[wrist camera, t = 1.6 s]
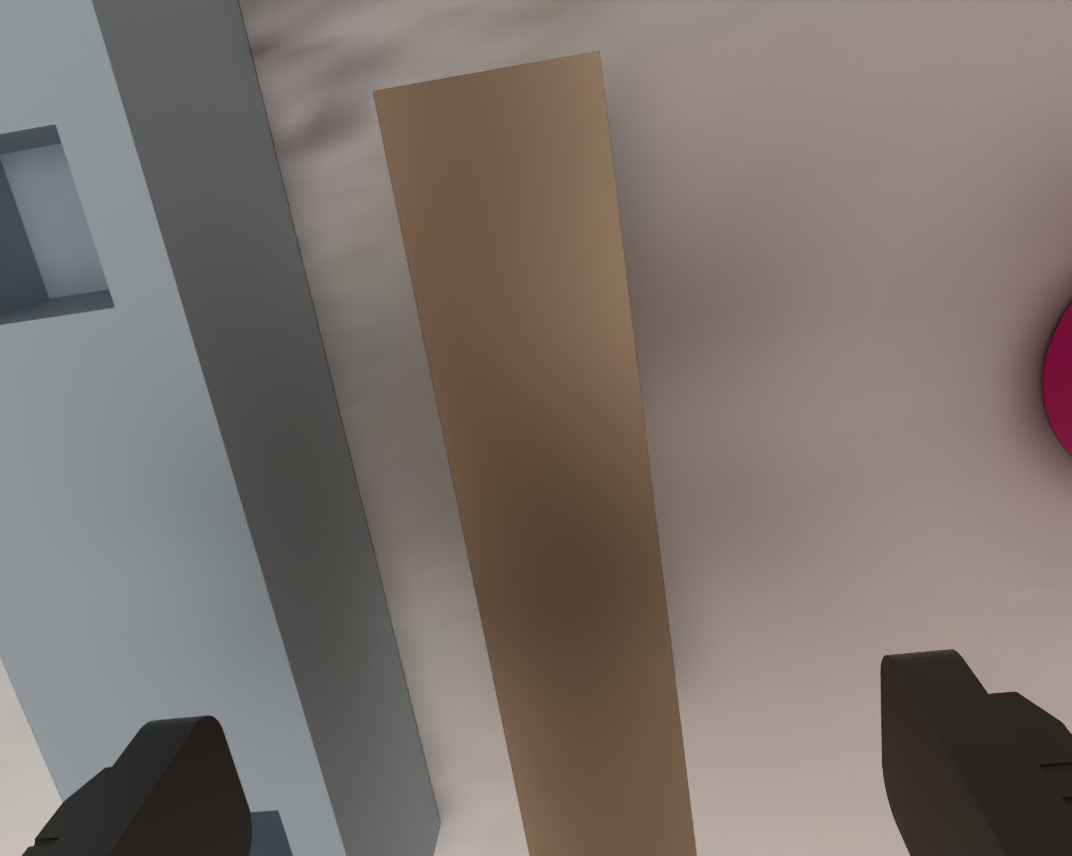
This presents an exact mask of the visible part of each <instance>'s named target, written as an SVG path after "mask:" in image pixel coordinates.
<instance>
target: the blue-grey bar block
mask: <svg viewBox="0 0 1072 856" xmlns="http://www.w3.org/2000/svg"><path fill="white" fill-rule="evenodd" d="M0 658H1V660H2V662H3V664H4V667H5V669H6V671H7V674H8V676H9V678H10V681H11V683H12V685H13V688H14V690H15V692H16V695H17V697H18V699H19V702H20V704H21V706H22V709H23V711H24V713H25V716H26V718H27V720H28V723H29V725H30V727H31V730H32V732H33V734H34V737H35V739H36V741H37V744H38V746H39V748H40V751H41V753H42V755H43V758H44V760H45V762H46V765H47V767H48V769H49V772H50V774H51V776H52V779H53V781H54V783H55V786H56V788H57V790H58V793H59V795H60V797H61V800H62V802H64V801H65V800H66V799H67V798H69V797H70V796H71V795H72V794H73V793H75V792H76V791H77V790H78V789H80V788H81V787H82V786H83V785H84V784H86V783H87V782H88V781H89V780H90V779H92V778H93V777H94V776H95V775H97V774H98V773H99V772H100V771H101V770H103V769H104V768H105V767H112V766H113V765H114V763H115V762H116V761H117V759H118V758H119V757H120V755H121V754H122V752H123V751H124V750H125V748H126V747H127V746H128V744H129V743H130V742H131V740H132V739H133V738H134V736H135V735H136V734H137V732H138V731H139V730H140V729H141V727H142V726H143V725H145V724H146V723H147V722H149V721H153V720H162V719H173V718H184V717H195V716H206V715H210V716H213V717H215V718H216V719H217V720H218V721H219V723H220V724H221V726H222V729H223V731H224V734H225V737H226V740H227V743H228V746H229V749H230V752H231V755H232V758H233V761H234V764H235V767H236V770H237V773H238V776H239V779H240V782H241V785H242V788H243V791H244V794H245V797H246V800H247V803H248V806H249V809H250V813H251V819H252V843H251V850H250V854H249V856H433V855H434V851H435V846H436V842H437V838H438V833H439V829H440V824H441V823H440V819H439V815H438V811H437V807H436V803H435V799H434V795H433V791H432V787H431V783H430V779H429V775H428V771H427V767H426V763H425V758H424V754H423V750H422V746H421V742H420V738H419V734H418V730H417V726H416V722H415V718H414V714H413V710H412V706H411V702H410V698H409V693H408V689H407V685H406V681H405V677H404V673H403V669H402V665H401V661H400V657H399V653H398V649H397V645H396V641H395V637H394V633H393V629H392V624H391V620H390V616H389V612H388V608H387V604H386V600H385V596H384V592H383V588H382V584H381V580H380V576H379V572H378V568H377V564H376V559H375V555H374V551H373V547H372V543H371V539H370V535H369V531H368V527H367V523H366V519H365V515H364V511H363V507H362V503H361V499H360V495H359V490H358V486H357V482H356V478H355V474H354V470H353V466H352V462H351V458H350V454H349V450H348V446H347V442H346V438H345V434H344V430H343V425H342V421H341V417H340V413H339V409H338V405H337V401H336V397H335V393H334V389H333V385H332V381H331V377H330V373H329V369H328V365H327V361H326V356H325V352H324V348H323V344H322V340H321V336H320V332H319V328H318V324H317V320H316V316H315V312H314V308H313V304H312V300H311V296H310V291H309V287H308V283H307V279H306V275H305V271H304V267H303V263H302V259H301V255H300V251H299V247H298V243H297V239H296V235H295V231H294V227H293V222H292V218H291V214H290V210H289V206H288V202H287V198H286V194H285V190H284V186H283V182H282V178H281V174H280V170H279V166H278V162H277V157H276V153H275V149H274V145H273V141H272V137H271V133H270V129H269V125H268V121H267V117H266V113H265V109H264V105H263V101H262V97H261V93H260V88H259V84H258V80H257V76H256V72H255V68H254V64H253V60H252V56H251V52H250V48H249V44H248V40H247V36H246V32H245V28H244V23H243V19H242V15H241V11H240V7H239V3H238V0H0Z"/></svg>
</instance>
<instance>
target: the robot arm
mask: <svg viewBox="0 0 1072 856" xmlns="http://www.w3.org/2000/svg"><path fill="white" fill-rule="evenodd" d="M881 728H882V768H883V776H884V782H885V788H886V792H887V797H888V800H889V804H890V807H891V811H892V814H893V817H894V819H895V822H896V824H897V827H898V829H899V831H900V833H901V836H902V838H903V840H904V842H905V845H906V847H907V849H908V851H909V853H910V856H1072V734H1071V733H1070V732H1069V730H1068V729H1067V728H1066V727H1065V725H1064V724H1063V723H1062V722H1061V721H1059V720H1058V719H1056V718H1055V717H1053V716H1052V715H1050V714H1049V713H1047V712H1046V711H1044V710H1043V709H1041V708H1040V707H1038V706H1037V705H1035V704H1034V703H1032V702H1031V701H1029V700H1028V699H1026V698H1025V697H1023V696H1022V695H1020V694H1019V693H1017V692H1005V693H994V694H988V693H987V691H986V690H985V689H984V687H983V686H982V684H981V683H980V682H979V680H978V679H977V677H976V676H975V675H974V673H973V672H972V670H971V669H970V668H969V666H968V665H967V663H966V662H965V661H964V659H963V658H962V657H961V655H960V654H959V653H958V652H957V651H955V650H953V649H950V650H939V651H928V652H917V653H906V654H895V655H885V656H884V657H883V659H882V663H881ZM251 843H252V819H251V813H250V809H249V806H248V803H247V800H246V797H245V794H244V791H243V788H242V785H241V782H240V779H239V776H238V773H237V770H236V767H235V764H234V761H233V758H232V755H231V752H230V749H229V746H228V743H227V740H226V737H225V734H224V731H223V729H222V726H221V724H220V723H219V721H218V720H217V719H216V718H215V717H213V716H210V715H206V716H195V717H184V718H173V719H162V720H153V721H149V722H147V723H146V724H145V725H143V726H142V727H141V729H140V730H139V731H138V732H137V734H136V735H135V736H134V738H133V739H132V740H131V742H130V743H129V744H128V746H127V747H126V748H125V750H124V751H123V752H122V754H121V755H120V757H119V758H118V759H117V761H116V762H115V763H114V765H113V766H112V767H105V768H104V769H103V770H101V771H100V772H99V773H98V774H97V775H95V776H94V777H93V778H92V779H90V780H89V781H88V782H87V783H86V784H84V785H83V786H82V787H81V788H80V789H78V790H77V791H76V792H75V793H73V794H72V795H71V796H70V797H69V798H67V799H66V800H65V801H64V802H63V803H62V805H61V806H60V807H59V808H58V810H57V811H56V812H55V814H54V815H53V816H52V818H51V819H50V820H49V821H48V823H47V824H46V825H45V827H44V828H43V829H42V830H41V832H40V833H39V834H38V836H37V837H36V838H35V845H34V846H32V847H28V848H27V850H26V851H25V852H24V854H23V855H22V856H249V854H250V850H251Z"/></svg>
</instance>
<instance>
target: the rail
mask: <svg viewBox="0 0 1072 856" xmlns="http://www.w3.org/2000/svg"><path fill="white" fill-rule="evenodd" d="M373 95H374V100H375V105H376V110H377V115H378V119H379V124H380V129H381V134H382V139H383V144H384V149H385V154H386V158H387V163H388V168H389V173H390V178H391V183H392V188H393V193H394V197H395V202H396V207H397V212H398V217H399V222H400V227H401V231H402V236H403V241H404V246H405V251H406V256H407V261H408V266H409V270H410V275H411V280H412V285H413V290H414V295H415V300H416V305H417V309H418V314H419V319H420V324H421V329H422V334H423V339H424V344H425V348H426V353H427V358H428V363H429V368H430V373H431V378H432V383H433V387H434V392H435V397H436V402H437V407H438V412H439V417H440V421H441V426H442V431H443V436H444V441H445V446H446V451H447V456H448V460H449V465H450V470H451V475H452V480H453V485H454V490H455V495H456V499H457V504H458V509H459V514H460V519H461V524H462V529H463V534H464V538H465V543H466V548H467V553H468V558H469V563H470V568H471V573H472V577H473V582H474V587H475V592H476V597H477V602H478V607H479V611H480V616H481V621H482V626H483V631H484V636H485V641H486V646H487V650H488V655H489V660H490V665H491V670H492V675H493V680H494V685H495V689H496V694H497V699H498V704H499V709H500V714H501V719H502V724H503V728H504V733H505V738H506V743H507V748H508V753H509V758H510V762H511V767H512V772H513V777H514V782H515V787H516V792H517V797H518V801H519V806H520V811H521V816H522V821H523V826H524V831H525V836H526V840H527V845H528V850H529V855H530V856H697V854H696V846H695V837H694V829H693V821H692V813H691V804H690V796H689V788H688V779H687V771H686V763H685V755H684V746H683V738H682V730H681V722H680V713H679V705H678V697H677V688H676V680H675V672H674V664H673V655H672V647H671V639H670V631H669V622H668V614H667V606H666V598H665V589H664V581H663V573H662V564H661V556H660V548H659V540H658V531H657V523H656V515H655V507H654V498H653V490H652V482H651V473H650V465H649V457H648V449H647V440H646V432H645V424H644V416H643V407H642V399H641V391H640V382H639V374H638V366H637V358H636V349H635V341H634V333H633V325H632V316H631V308H630V300H629V291H628V283H627V275H626V267H625V258H624V250H623V242H622V234H621V225H620V217H619V209H618V200H617V192H616V184H615V176H614V167H613V159H612V151H611V143H610V134H609V126H608V118H607V109H606V101H605V93H604V85H603V76H602V68H601V60H600V52H599V51H596V52H591V53H585V54H579V55H574V56H568V57H563V58H557V59H551V60H546V61H540V62H534V63H529V64H523V65H517V66H512V67H506V68H501V69H495V70H489V71H484V72H478V73H472V74H467V75H461V76H455V77H450V78H444V79H439V80H433V81H427V82H422V83H416V84H410V85H405V86H399V87H393V88H388V89H382V90H377V91H373Z"/></svg>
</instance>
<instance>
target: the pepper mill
mask: <svg viewBox="0 0 1072 856" xmlns="http://www.w3.org/2000/svg"><path fill="white" fill-rule="evenodd" d="M1043 388H1044V402H1045V406H1046V410H1047V415H1048V418H1049V421H1050V423H1051V426H1052V428H1053V431H1054V432H1055V434H1056V436H1057V437H1058V439H1059V440H1060V442H1061V444H1062V445H1063V446H1064V447H1065V449H1066V450H1067V451H1068V452H1069V453H1070V454H1071V455H1072V304H1071V305H1070V307H1069V308H1068V309H1067V311H1066V312H1065V314H1064V315H1063V316H1062V318H1061V321H1060V323H1059V325H1058V327H1057V329H1056V331H1055V333H1054V336H1053V339H1052V341H1051V344H1050V346H1049V349H1048V352H1047V356H1046V361H1045V367H1044V379H1043Z"/></svg>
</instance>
